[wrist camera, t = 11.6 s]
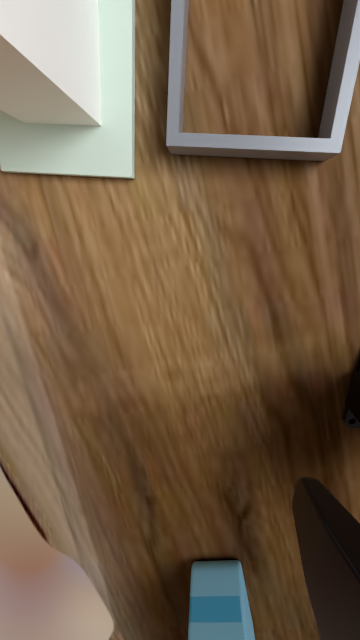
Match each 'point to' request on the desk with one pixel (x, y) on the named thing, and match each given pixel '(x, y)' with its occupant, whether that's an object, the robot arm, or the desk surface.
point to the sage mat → (84, 140)
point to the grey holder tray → (351, 47)
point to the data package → (219, 602)
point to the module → (50, 61)
